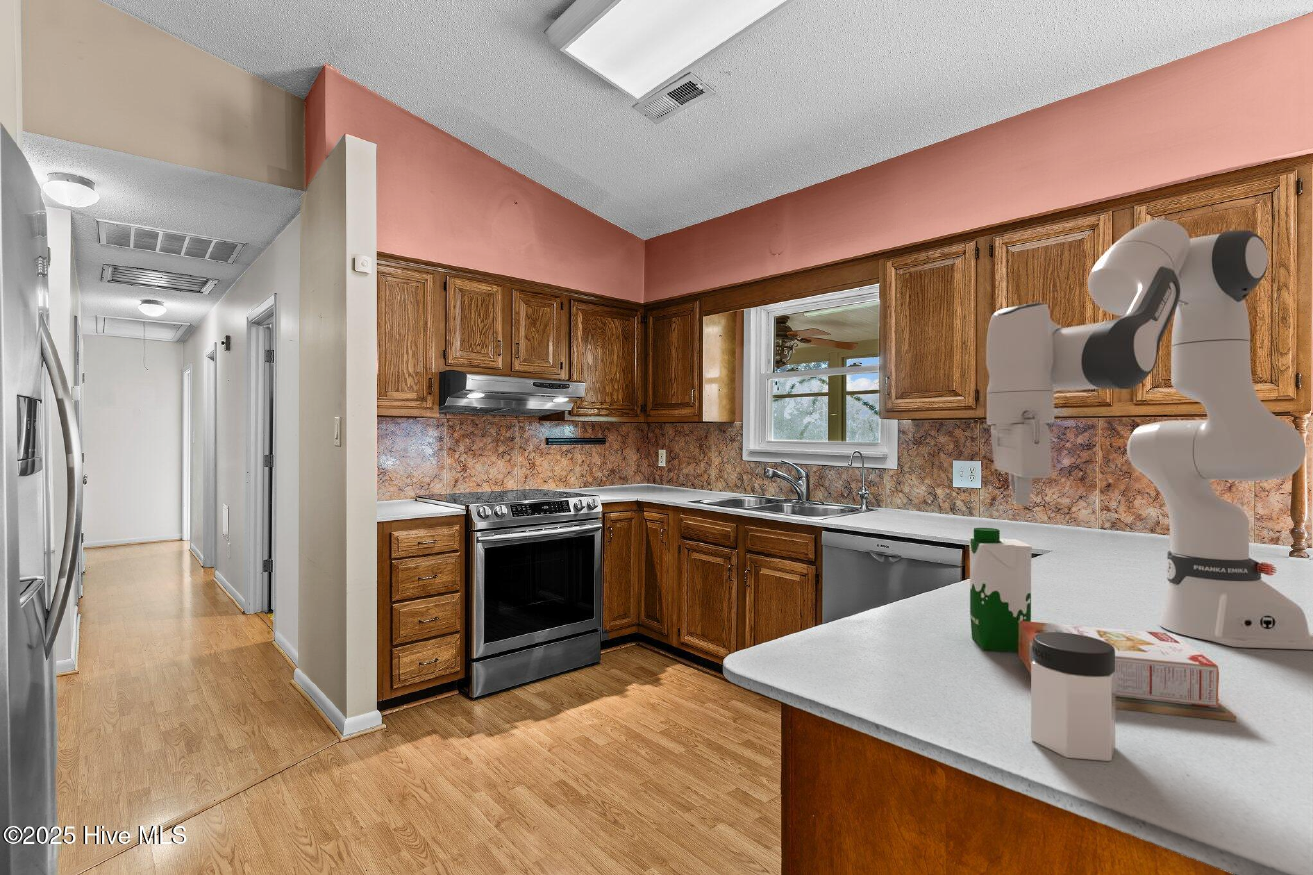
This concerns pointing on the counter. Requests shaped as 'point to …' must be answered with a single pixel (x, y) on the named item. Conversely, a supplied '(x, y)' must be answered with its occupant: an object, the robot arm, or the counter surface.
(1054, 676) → the jar
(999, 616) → the soya milk
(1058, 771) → the counter surface
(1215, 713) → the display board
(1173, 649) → the cracker box
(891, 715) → the counter surface
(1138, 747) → the counter surface
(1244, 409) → the robot arm
